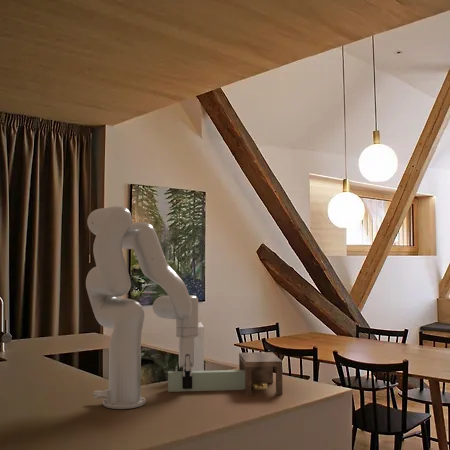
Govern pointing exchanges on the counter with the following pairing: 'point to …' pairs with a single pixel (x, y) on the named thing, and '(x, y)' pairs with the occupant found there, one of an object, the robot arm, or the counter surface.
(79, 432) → the counter surface
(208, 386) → the slat
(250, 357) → the brown wooden stool
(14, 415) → the counter surface
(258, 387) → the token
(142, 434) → the counter surface
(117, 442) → the counter surface
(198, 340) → the milk
